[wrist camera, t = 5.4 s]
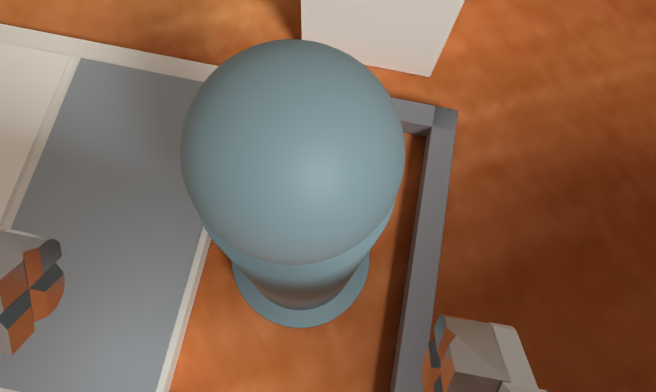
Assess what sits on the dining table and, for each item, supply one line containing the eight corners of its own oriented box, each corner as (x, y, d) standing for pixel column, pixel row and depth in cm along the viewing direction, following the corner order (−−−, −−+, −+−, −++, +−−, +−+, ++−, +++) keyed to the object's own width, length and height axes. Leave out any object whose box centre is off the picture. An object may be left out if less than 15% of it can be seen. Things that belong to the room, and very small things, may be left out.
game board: (402, 498, 17) (408, 508, 16) (-446, 318, 17) (-490, 317, 16) (451, 120, 21) (458, 110, 20) (-223, -11, 22) (-247, -27, 21)
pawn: (353, 340, 18) (459, 336, 6) (221, 313, 18) (31, 249, 6) (375, 212, 20) (497, -17, 7) (253, 188, 20) (160, -81, 7)
